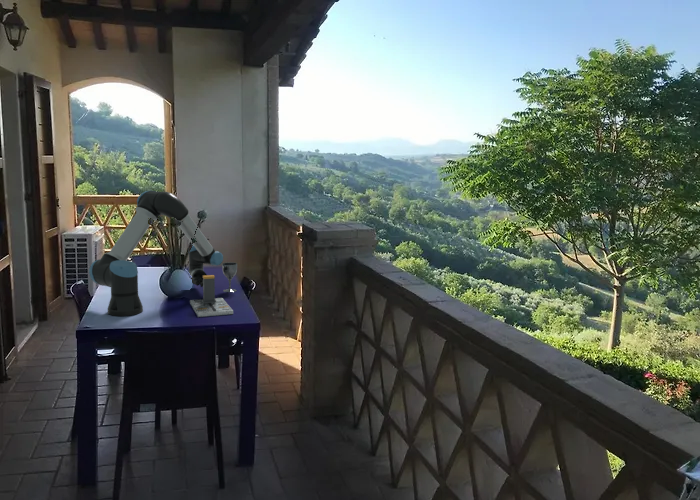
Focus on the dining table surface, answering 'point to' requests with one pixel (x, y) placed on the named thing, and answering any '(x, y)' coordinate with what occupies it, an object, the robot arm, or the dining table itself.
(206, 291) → the block
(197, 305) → the plate
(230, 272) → the wine glass
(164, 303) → the dining table surface
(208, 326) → the dining table surface
